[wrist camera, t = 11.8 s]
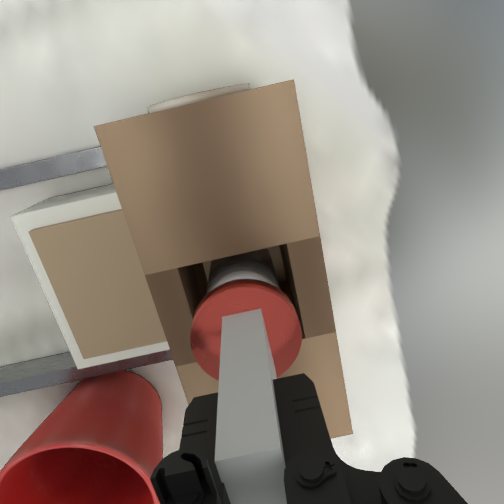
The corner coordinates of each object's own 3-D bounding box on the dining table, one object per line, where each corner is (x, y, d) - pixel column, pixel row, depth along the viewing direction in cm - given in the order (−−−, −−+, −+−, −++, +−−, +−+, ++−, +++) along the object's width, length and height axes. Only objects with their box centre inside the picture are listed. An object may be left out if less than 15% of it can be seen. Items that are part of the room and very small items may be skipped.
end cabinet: (216, 342, 33) (208, 464, 21) (150, 114, 27) (90, 115, 15) (310, 322, 33) (352, 433, 21) (266, 86, 26) (292, 68, 15)
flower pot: (27, 380, 33) (-51, 482, 24) (145, 334, 32) (110, 422, 23) (91, 466, 37) (45, 584, 27) (199, 427, 36) (188, 536, 27)
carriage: (100, 330, 32) (74, 374, 26) (47, 198, 28) (4, 219, 23) (197, 309, 31) (191, 349, 26) (157, 173, 28) (139, 188, 22)
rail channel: (-18, 384, 33) (-54, 423, 29) (-122, 198, 28) (-184, 213, 23) (214, 333, 32) (211, 365, 28) (155, 133, 27) (142, 137, 23)
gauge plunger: (214, 306, 24) (206, 396, 16) (195, 238, 22) (176, 303, 15) (285, 290, 24) (310, 373, 16) (270, 221, 22) (291, 278, 15)
